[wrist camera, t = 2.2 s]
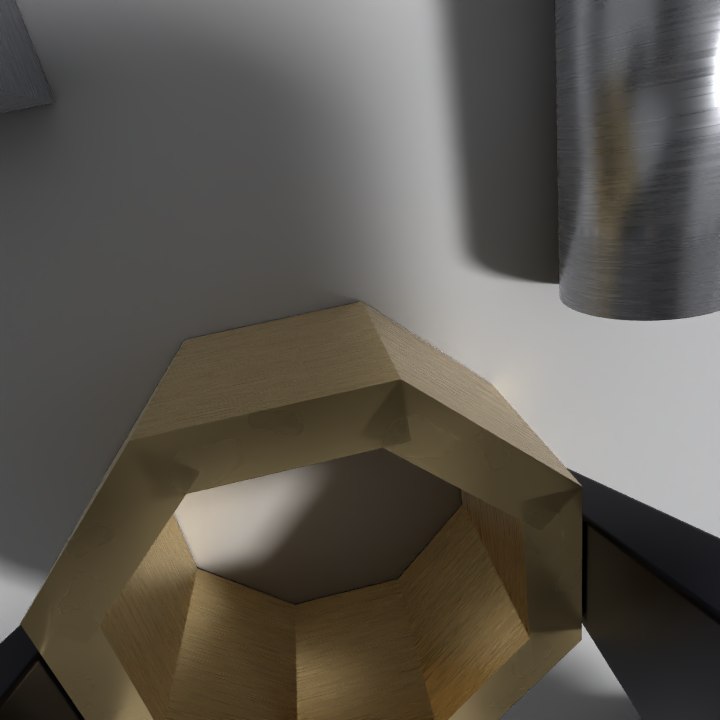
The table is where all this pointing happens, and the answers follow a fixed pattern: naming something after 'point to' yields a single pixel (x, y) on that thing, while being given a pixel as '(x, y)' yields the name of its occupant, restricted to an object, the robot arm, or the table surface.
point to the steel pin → (638, 157)
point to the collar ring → (337, 612)
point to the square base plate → (19, 64)
